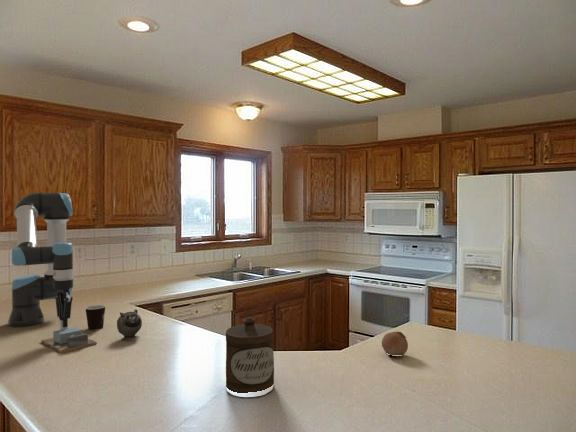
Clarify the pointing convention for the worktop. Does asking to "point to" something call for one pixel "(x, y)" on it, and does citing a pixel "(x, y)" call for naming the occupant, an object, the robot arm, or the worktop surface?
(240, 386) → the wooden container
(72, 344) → the base
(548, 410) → the worktop surface
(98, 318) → the coffee mug
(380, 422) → the worktop surface
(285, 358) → the worktop surface
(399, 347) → the brown round lump
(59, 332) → the block
